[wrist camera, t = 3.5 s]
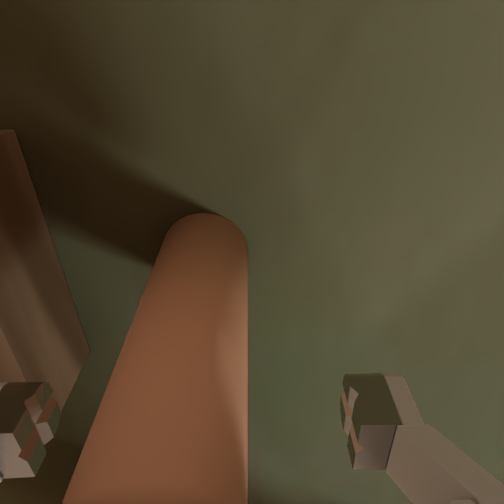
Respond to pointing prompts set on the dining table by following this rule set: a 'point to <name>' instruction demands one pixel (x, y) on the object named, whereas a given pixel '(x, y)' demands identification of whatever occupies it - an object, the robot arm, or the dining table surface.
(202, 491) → the peg
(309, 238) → the dining table surface
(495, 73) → the dining table surface
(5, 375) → the socket block
